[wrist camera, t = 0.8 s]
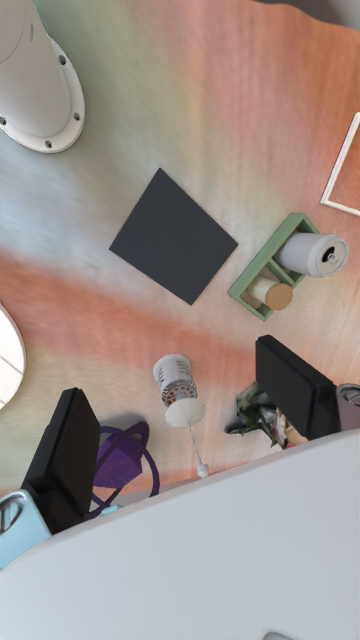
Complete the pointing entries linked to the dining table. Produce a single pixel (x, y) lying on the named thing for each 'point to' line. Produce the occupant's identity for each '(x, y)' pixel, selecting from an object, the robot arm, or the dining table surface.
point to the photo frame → (357, 118)
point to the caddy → (272, 262)
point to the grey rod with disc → (180, 396)
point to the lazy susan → (10, 357)
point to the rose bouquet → (265, 418)
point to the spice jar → (270, 292)
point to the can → (313, 254)
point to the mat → (173, 240)
